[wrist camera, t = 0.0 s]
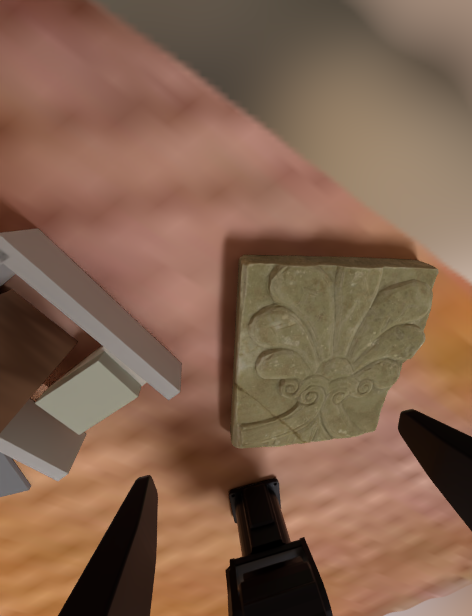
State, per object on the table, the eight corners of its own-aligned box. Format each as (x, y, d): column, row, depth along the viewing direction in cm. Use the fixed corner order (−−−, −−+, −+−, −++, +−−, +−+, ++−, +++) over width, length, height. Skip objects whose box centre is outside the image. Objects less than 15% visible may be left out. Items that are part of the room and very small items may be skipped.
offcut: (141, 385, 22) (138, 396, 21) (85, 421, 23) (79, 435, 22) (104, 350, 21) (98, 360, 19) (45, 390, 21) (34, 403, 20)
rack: (181, 363, 23) (180, 392, 20) (77, 440, 25) (57, 481, 21) (38, 228, 17) (-3, 233, 14) (-92, 339, 19) (-161, 370, 15)
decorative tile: (227, 430, 28) (232, 458, 25) (235, 253, 21) (243, 261, 18) (371, 414, 32) (392, 437, 28) (421, 256, 24) (457, 263, 21)
